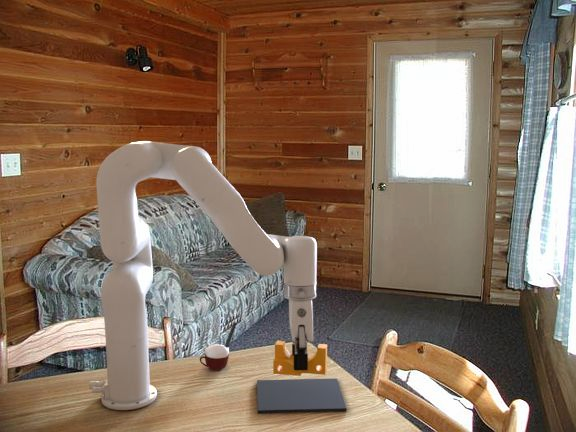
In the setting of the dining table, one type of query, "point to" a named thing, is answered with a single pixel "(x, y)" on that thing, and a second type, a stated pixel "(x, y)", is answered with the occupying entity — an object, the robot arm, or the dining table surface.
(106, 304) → the robot arm
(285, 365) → the pipe clamp
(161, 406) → the dining table surface
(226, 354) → the cocoa
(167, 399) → the dining table surface
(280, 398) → the mat
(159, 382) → the dining table surface
